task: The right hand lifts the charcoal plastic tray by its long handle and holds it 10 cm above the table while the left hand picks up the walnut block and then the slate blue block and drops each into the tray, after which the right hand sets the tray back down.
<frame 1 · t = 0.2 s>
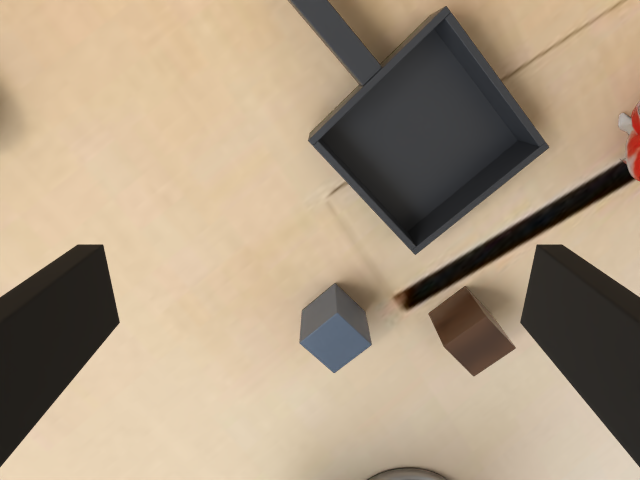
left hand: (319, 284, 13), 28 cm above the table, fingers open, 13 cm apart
tray: (416, 136, 38), on the table
walnut block: (460, 314, 45), on the table
slate block: (333, 311, 45), on the table
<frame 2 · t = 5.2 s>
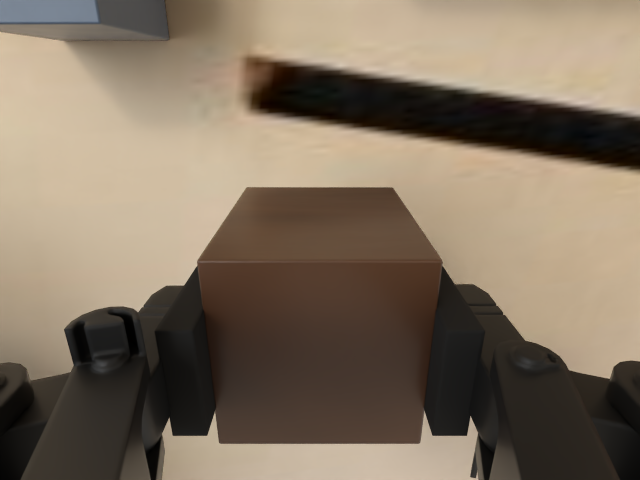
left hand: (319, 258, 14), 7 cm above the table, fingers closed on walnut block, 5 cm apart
walnut block: (319, 254, 15), point 7 cm above the table, touching left hand
when the left hand's fingers open (15 cm above the table, at t = 10.7 s): walnut block drops 5 cm, resting on tray.
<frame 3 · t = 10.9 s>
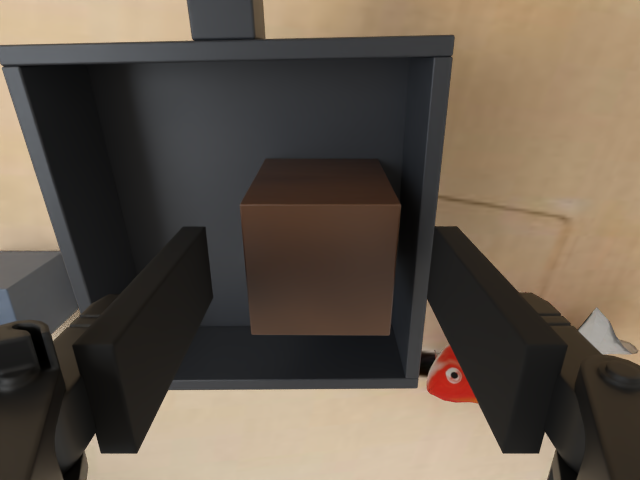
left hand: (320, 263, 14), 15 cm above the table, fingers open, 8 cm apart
tray: (261, 207, 20), point 9 cm above the table, touching right hand, walnut block
fish: (507, 327, 33), on the table
walnut block: (321, 211, 19), point 10 cm above the table, touching tray
slate block: (39, 280, 31), on the table
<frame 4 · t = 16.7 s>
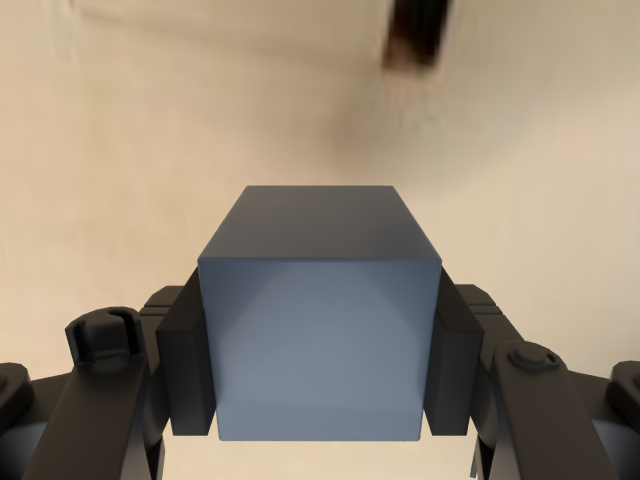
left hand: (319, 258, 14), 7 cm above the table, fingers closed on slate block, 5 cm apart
slate block: (319, 252, 15), point 6 cm above the table, touching left hand
when the left hand's fingers open (15 cm above the table, at t = 19.5 s): slate block drops 10 cm and tips over, resting on tray.
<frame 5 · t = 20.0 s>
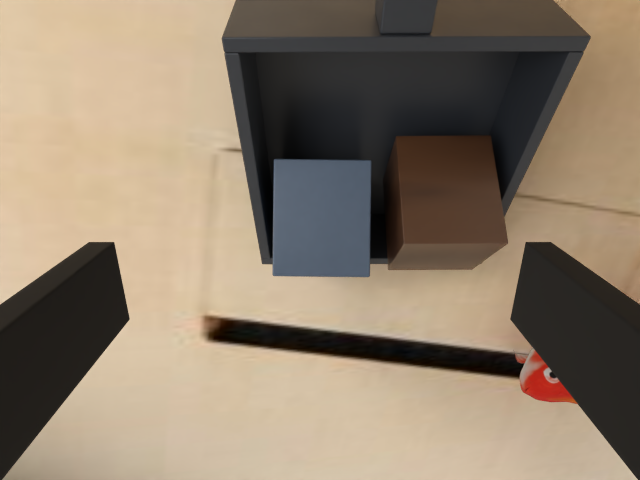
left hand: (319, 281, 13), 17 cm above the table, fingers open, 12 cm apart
tray: (376, 128, 24), point 3 cm above the table, tilted 27°, touching right hand, slate block, walnut block
fish: (587, 327, 33), on the table
walnut block: (431, 159, 24), point 4 cm above the table, tilted 50°, touching tray
slate block: (322, 167, 23), point 5 cm above the table, tilted 70°, touching tray
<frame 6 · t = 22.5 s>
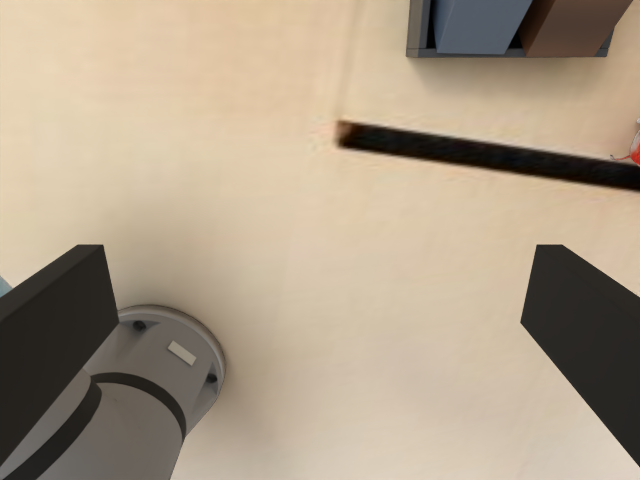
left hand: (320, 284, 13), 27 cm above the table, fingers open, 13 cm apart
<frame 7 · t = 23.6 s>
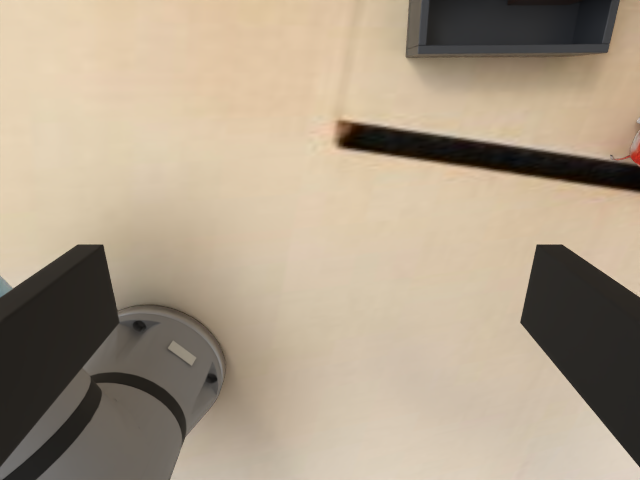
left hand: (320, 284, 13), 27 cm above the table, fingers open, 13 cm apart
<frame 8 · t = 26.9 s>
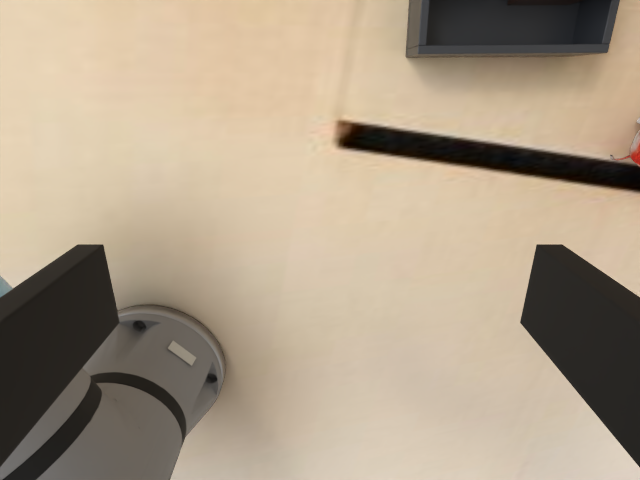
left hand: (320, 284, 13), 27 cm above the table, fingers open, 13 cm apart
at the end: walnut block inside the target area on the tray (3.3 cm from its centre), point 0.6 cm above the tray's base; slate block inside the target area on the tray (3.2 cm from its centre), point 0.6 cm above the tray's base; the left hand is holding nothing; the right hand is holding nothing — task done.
